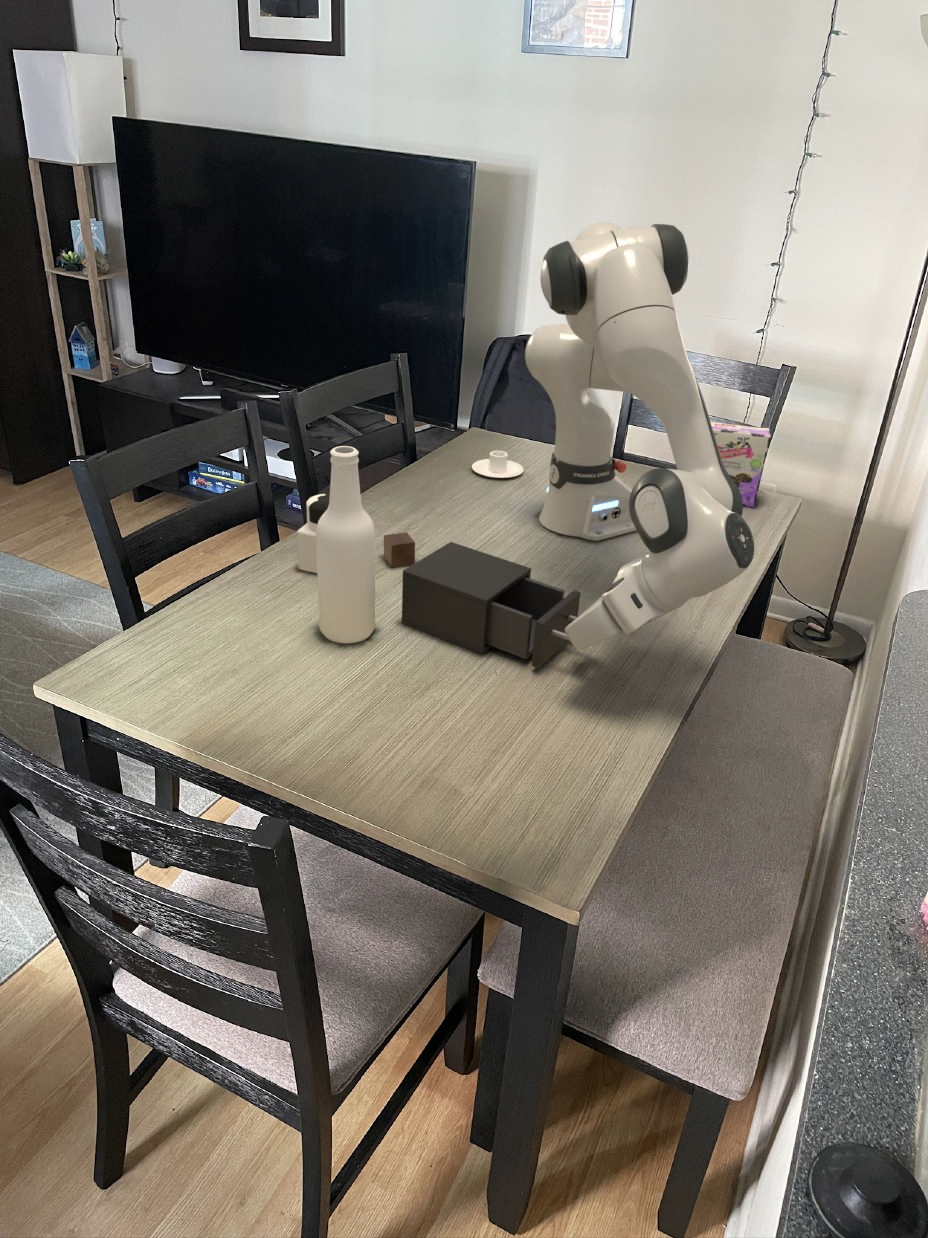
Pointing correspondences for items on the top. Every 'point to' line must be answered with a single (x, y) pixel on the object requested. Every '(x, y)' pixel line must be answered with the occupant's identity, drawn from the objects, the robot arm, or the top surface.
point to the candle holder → (497, 466)
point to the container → (311, 533)
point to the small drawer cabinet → (456, 593)
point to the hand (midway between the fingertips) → (576, 625)
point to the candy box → (743, 456)
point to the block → (399, 549)
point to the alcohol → (345, 556)
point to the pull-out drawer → (531, 620)
